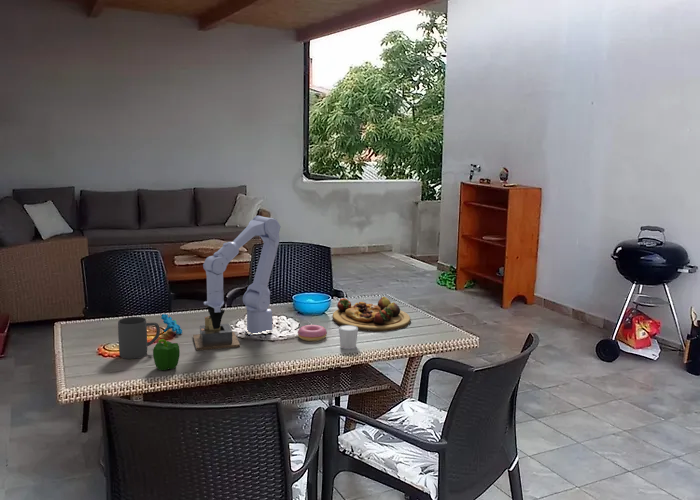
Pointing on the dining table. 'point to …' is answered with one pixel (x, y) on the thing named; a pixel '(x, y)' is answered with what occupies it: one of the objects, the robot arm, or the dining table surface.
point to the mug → (134, 337)
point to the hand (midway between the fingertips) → (215, 326)
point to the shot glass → (348, 336)
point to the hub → (216, 338)
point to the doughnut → (312, 332)
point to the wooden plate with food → (371, 315)
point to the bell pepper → (166, 355)
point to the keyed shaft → (209, 324)
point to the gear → (171, 324)
